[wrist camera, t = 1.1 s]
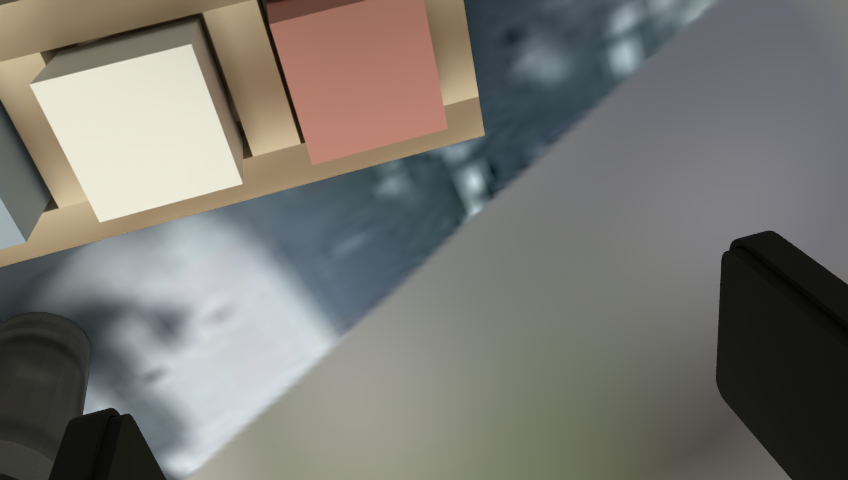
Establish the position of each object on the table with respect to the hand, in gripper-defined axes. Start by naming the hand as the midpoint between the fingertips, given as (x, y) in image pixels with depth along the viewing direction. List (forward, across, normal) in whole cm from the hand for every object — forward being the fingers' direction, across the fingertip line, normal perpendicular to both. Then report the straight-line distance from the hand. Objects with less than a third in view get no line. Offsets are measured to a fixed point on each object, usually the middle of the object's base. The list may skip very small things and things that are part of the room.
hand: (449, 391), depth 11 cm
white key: (+19, +7, -1) cm, 20 cm away
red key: (+19, -1, -1) cm, 19 cm away
